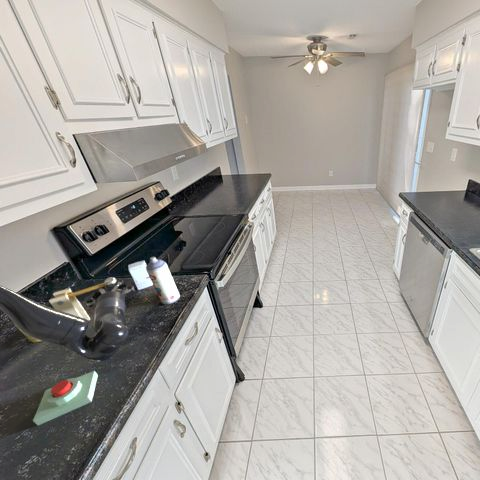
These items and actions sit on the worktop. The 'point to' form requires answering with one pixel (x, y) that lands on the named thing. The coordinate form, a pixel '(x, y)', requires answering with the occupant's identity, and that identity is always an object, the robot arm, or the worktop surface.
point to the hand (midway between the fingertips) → (112, 282)
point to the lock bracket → (68, 304)
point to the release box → (67, 398)
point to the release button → (61, 388)
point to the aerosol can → (162, 281)
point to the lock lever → (93, 287)
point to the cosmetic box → (140, 275)
